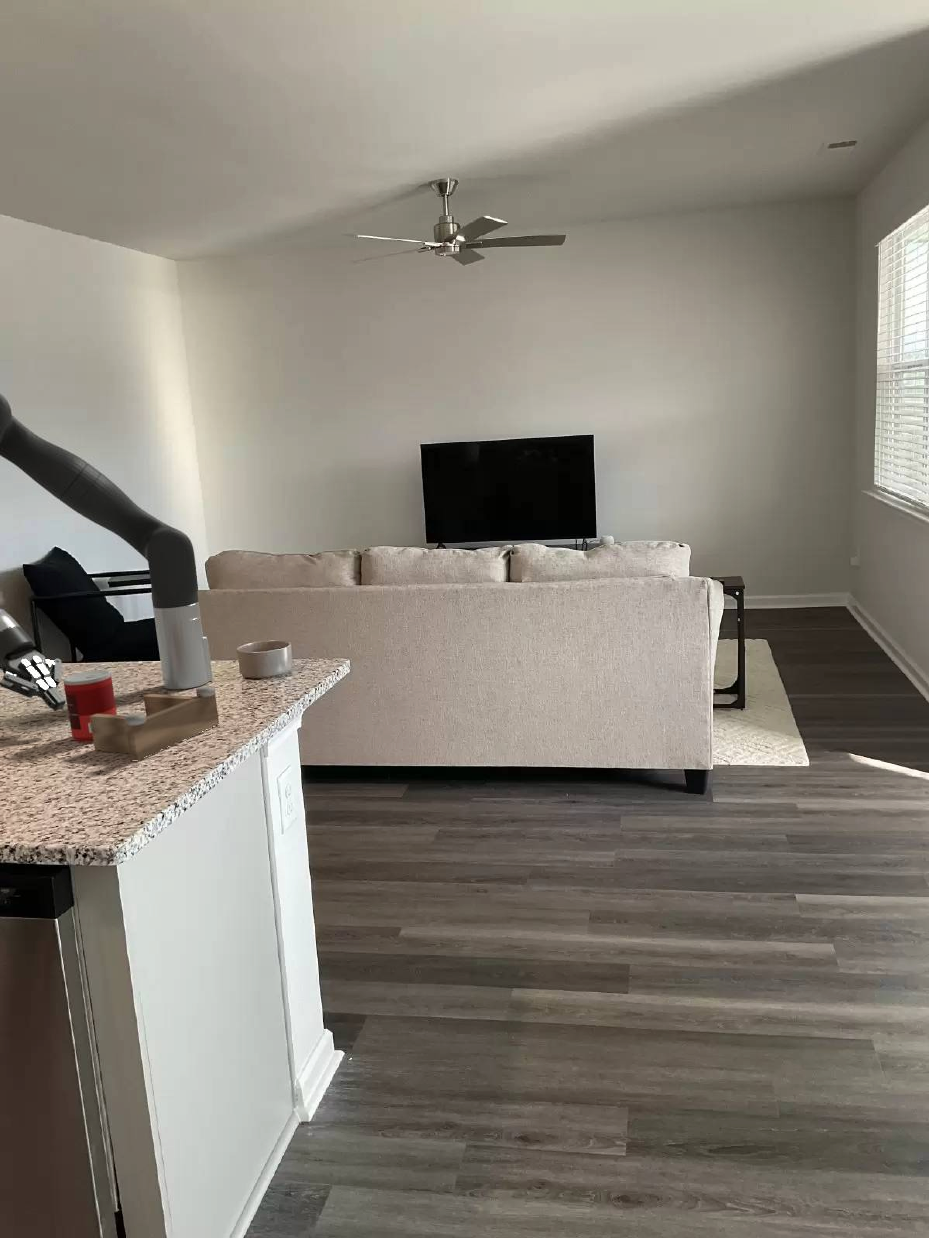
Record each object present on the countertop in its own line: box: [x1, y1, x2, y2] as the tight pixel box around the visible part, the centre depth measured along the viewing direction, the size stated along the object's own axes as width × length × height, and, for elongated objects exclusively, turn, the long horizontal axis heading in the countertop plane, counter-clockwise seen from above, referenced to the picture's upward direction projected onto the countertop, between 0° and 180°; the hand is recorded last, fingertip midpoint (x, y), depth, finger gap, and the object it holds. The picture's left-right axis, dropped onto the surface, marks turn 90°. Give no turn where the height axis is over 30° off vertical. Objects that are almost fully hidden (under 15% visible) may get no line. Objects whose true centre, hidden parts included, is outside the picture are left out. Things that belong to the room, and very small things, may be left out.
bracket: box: [90, 685, 220, 761], centre depth 170 cm, size 13×20×7 cm, turn 154°
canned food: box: [63, 669, 118, 743], centre depth 175 cm, size 8×8×11 cm
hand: (60, 706), depth 179 cm, fingers closed
